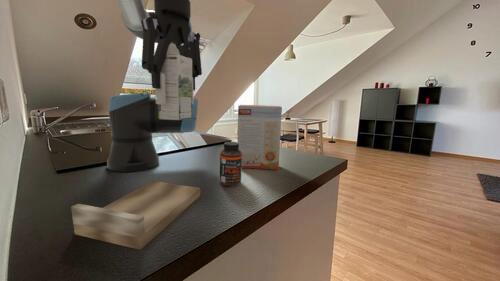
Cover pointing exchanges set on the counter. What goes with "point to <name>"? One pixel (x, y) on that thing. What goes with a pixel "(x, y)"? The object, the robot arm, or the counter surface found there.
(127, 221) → the shelf board
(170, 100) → the syrup box
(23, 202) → the counter surface
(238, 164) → the supplement bottle
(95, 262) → the counter surface
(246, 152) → the cracker box
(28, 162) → the counter surface
